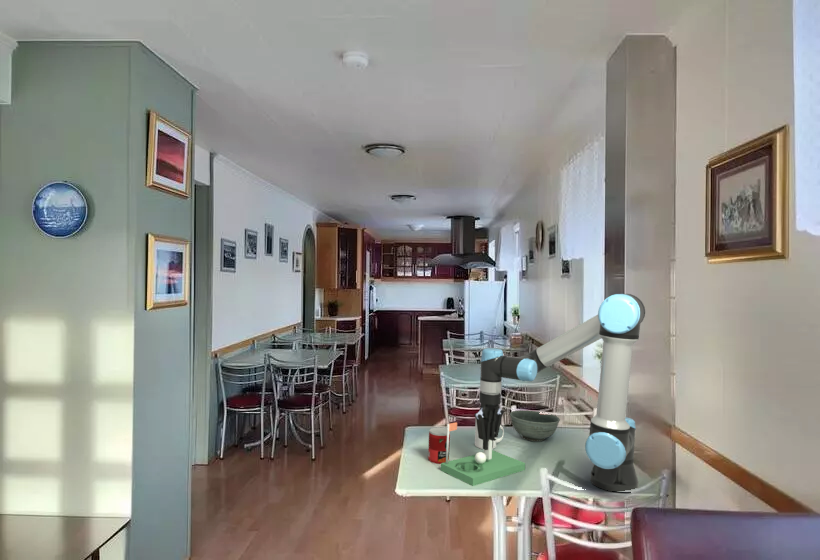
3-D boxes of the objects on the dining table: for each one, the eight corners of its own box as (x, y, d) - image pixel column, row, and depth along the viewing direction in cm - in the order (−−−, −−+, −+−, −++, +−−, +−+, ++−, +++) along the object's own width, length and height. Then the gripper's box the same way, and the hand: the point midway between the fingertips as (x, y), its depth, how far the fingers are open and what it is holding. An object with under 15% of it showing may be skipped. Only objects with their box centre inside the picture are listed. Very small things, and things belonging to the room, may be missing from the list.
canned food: (440, 465, 191) (441, 435, 191) (423, 459, 196) (424, 430, 196) (453, 460, 196) (454, 431, 196) (436, 455, 202) (437, 426, 202)
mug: (507, 449, 211) (508, 422, 211) (478, 450, 209) (479, 423, 209) (499, 442, 220) (500, 416, 220) (471, 443, 217) (472, 417, 217)
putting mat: (524, 470, 190) (526, 424, 189) (472, 486, 174) (474, 435, 173) (492, 456, 202) (493, 413, 202) (440, 470, 186) (442, 423, 186)
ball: (479, 466, 185) (487, 465, 187) (481, 454, 185) (489, 453, 187) (471, 462, 188) (479, 461, 190) (473, 450, 188) (481, 450, 190)
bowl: (500, 439, 224) (501, 415, 224) (520, 428, 241) (521, 406, 241) (548, 450, 212) (549, 425, 212) (565, 437, 229) (566, 414, 229)
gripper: (495, 388, 196) (492, 451, 196) (469, 392, 188) (466, 458, 188) (510, 392, 190) (507, 458, 190) (484, 396, 182) (481, 464, 183)
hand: (487, 458), depth 189 cm, fingers closed
